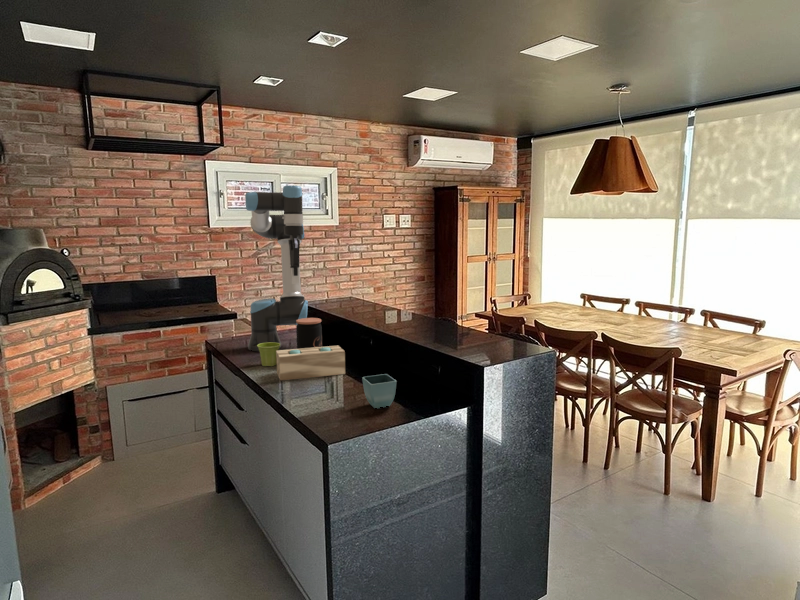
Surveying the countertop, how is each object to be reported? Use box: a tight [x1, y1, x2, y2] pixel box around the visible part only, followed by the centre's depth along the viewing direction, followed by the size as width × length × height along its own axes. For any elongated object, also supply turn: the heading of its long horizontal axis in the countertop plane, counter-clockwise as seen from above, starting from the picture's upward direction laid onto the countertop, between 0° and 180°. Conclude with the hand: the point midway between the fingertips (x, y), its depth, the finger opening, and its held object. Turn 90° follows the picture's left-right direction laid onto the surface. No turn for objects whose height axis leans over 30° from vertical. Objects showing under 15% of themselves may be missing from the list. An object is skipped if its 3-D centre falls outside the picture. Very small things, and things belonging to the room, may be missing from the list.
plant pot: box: [257, 342, 280, 367], centre depth 214 cm, size 9×9×9 cm
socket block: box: [276, 345, 346, 381], centre depth 201 cm, size 11×25×9 cm, turn 110°
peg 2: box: [320, 346, 331, 352], centre depth 203 cm, size 4×4×8 cm
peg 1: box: [290, 350, 300, 354], centre depth 199 cm, size 4×4×8 cm
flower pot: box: [361, 373, 398, 409], centre depth 164 cm, size 9×9×9 cm
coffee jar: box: [295, 317, 323, 349], centre depth 219 cm, size 11×11×18 cm
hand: (295, 283), depth 208 cm, fingers closed
